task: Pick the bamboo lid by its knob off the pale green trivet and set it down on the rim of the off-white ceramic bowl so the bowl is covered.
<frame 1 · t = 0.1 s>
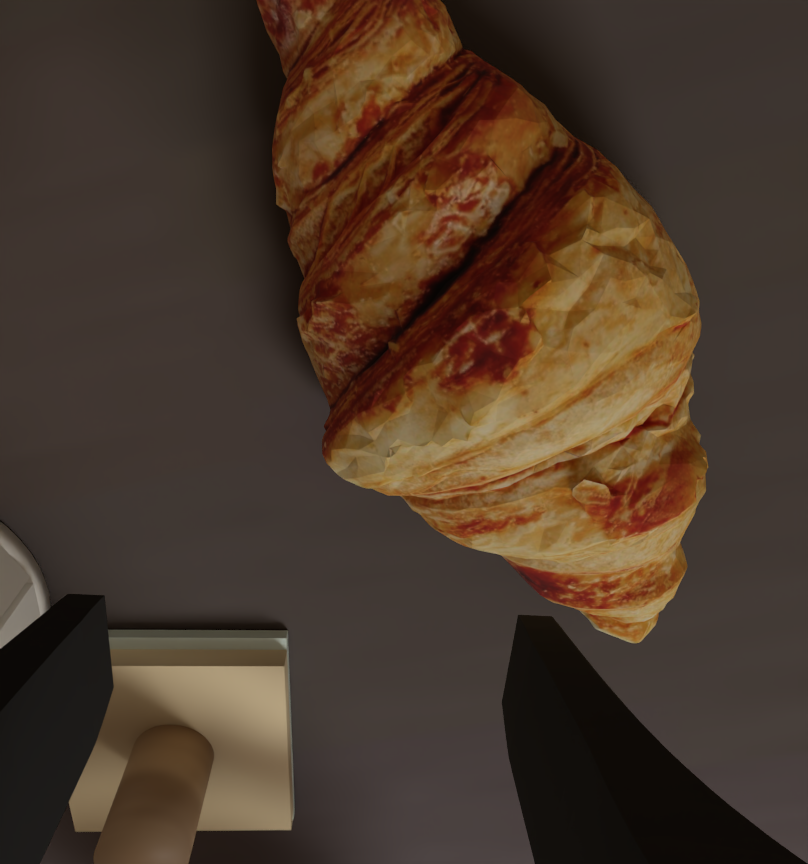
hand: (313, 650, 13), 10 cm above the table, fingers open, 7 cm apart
lid: (179, 735, 26), resting on trivet
croissant: (484, 337, 21), on the table
trivet: (182, 727, 27), on the table
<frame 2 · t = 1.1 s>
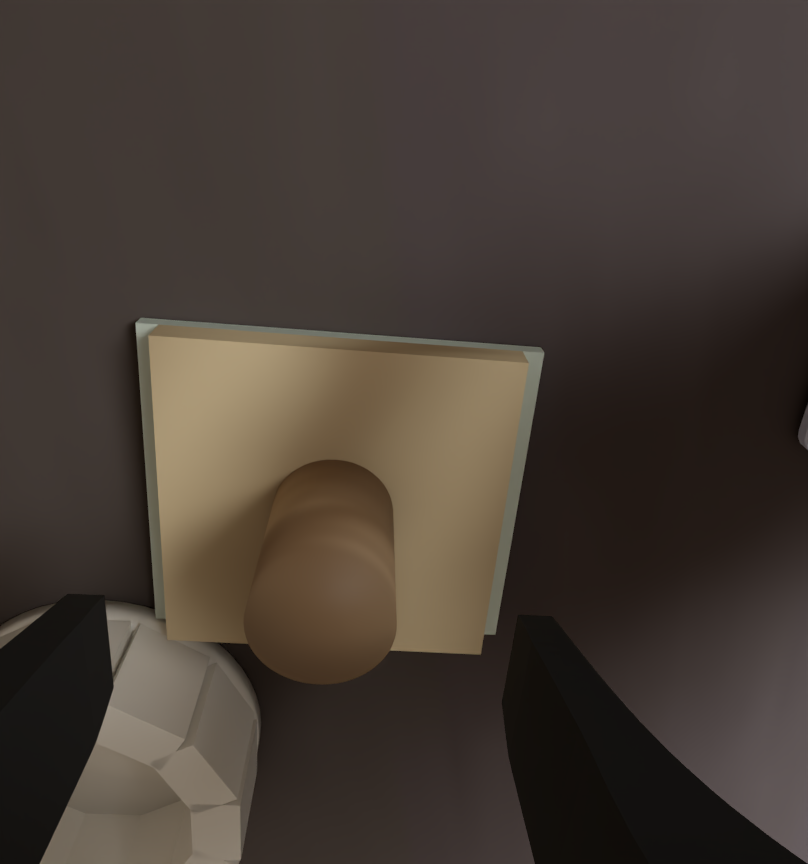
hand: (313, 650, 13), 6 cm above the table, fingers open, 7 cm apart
bowl: (114, 717, 21), on the table
lid: (335, 495, 18), resting on trivet
trivet: (335, 487, 18), on the table
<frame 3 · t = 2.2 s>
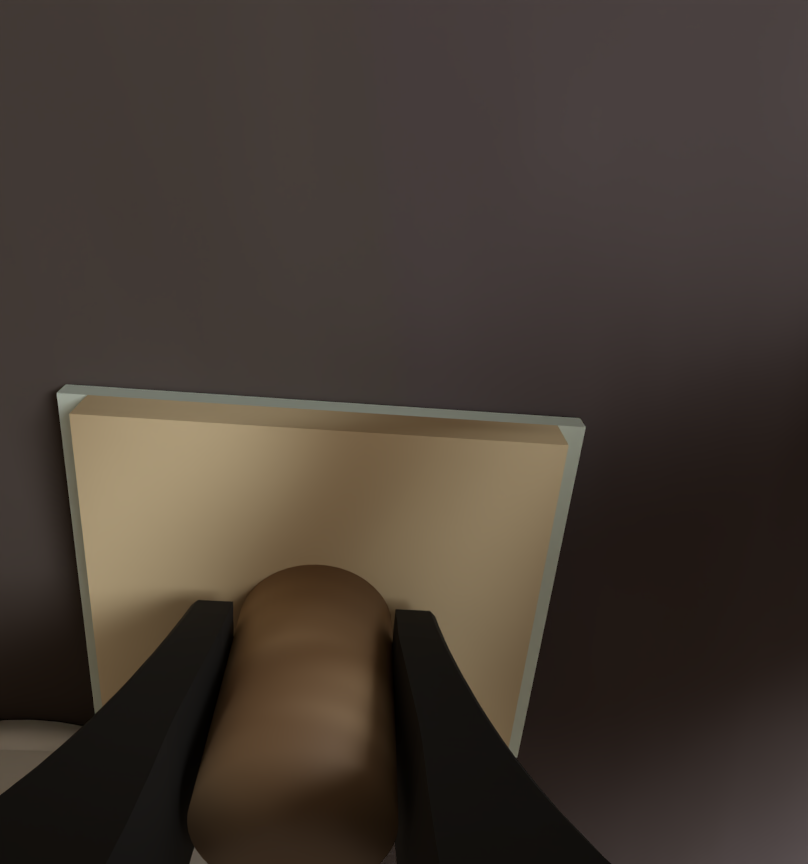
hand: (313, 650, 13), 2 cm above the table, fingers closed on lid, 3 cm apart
bowl: (54, 851, 17), on the table
lid: (318, 600, 14), resting on trivet, touching gripper
trivet: (320, 588, 14), on the table
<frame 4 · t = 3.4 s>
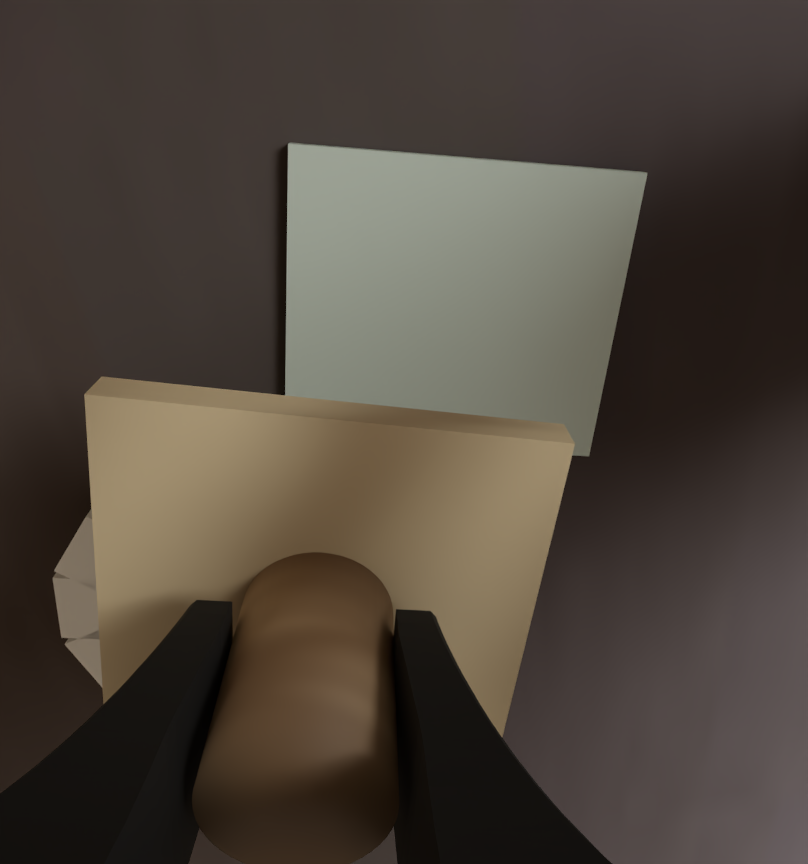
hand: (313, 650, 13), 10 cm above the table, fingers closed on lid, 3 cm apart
bowl: (237, 544, 23), on the table
lid: (320, 588, 14), point 8 cm above the table, touching gripper
trivet: (451, 311, 20), on the table
when the fingers open (6 cm above the table, at t = 4.6 s): lid stays where it is, resting on bowl.
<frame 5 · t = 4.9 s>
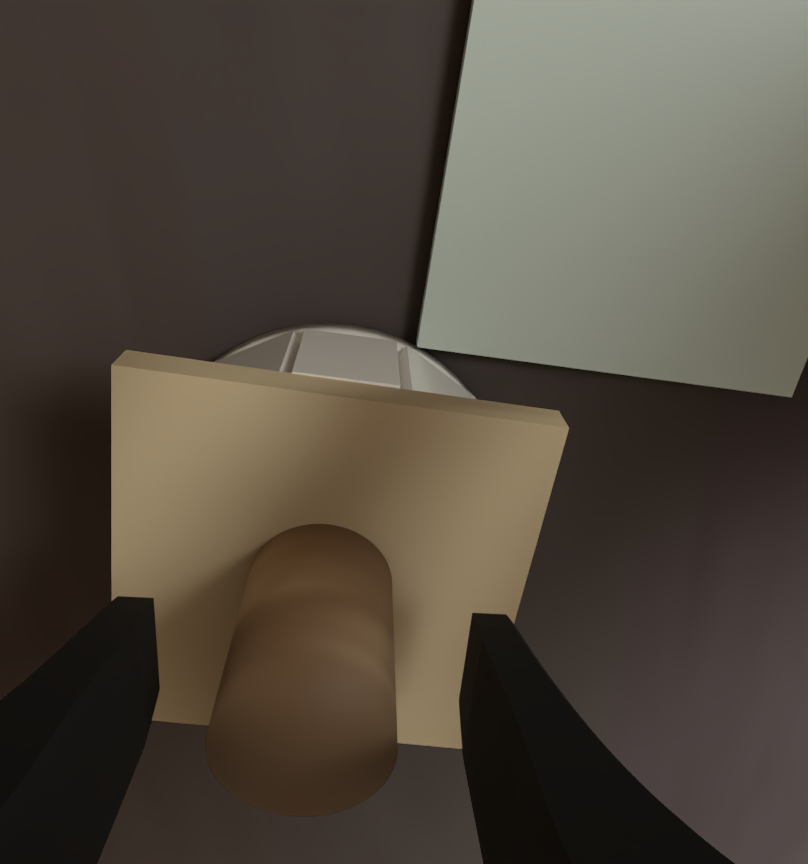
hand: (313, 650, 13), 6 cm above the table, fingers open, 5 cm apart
bowl: (331, 485, 18), on the table
lid: (323, 561, 15), point 3 cm above the table, touching bowl
trivet: (653, 191, 16), on the table
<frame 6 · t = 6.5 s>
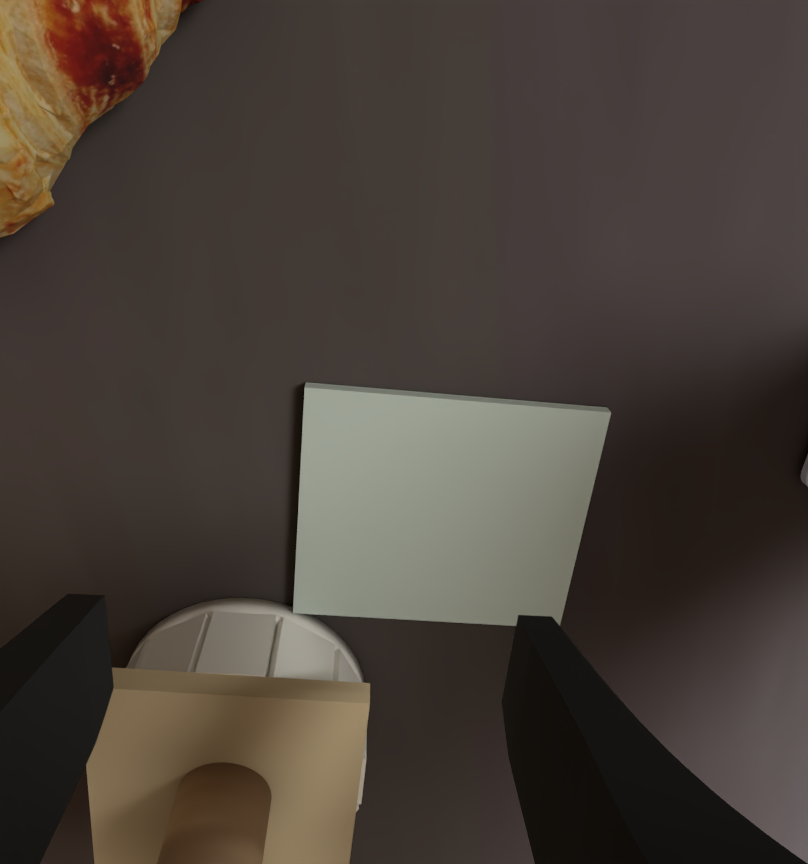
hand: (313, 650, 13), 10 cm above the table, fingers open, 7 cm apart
bowl: (246, 693, 26), on the table
lid: (229, 773, 23), point 3 cm above the table, touching bowl
trivet: (441, 511, 23), on the table
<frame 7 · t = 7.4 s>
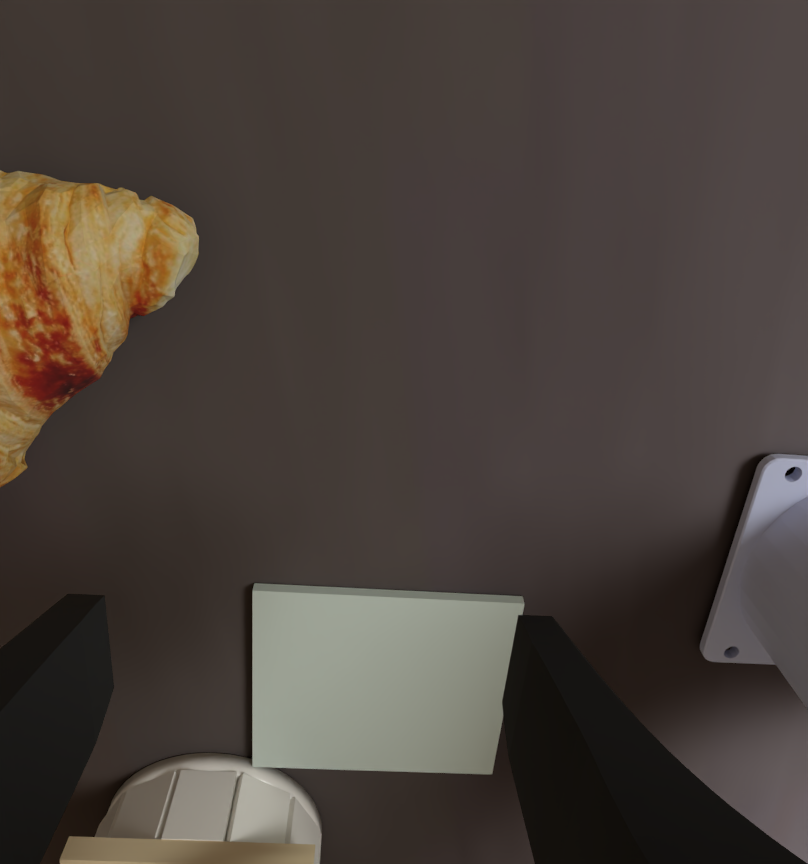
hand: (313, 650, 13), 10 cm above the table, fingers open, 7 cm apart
bowl: (215, 829, 29), on the table
trivet: (381, 681, 26), on the table
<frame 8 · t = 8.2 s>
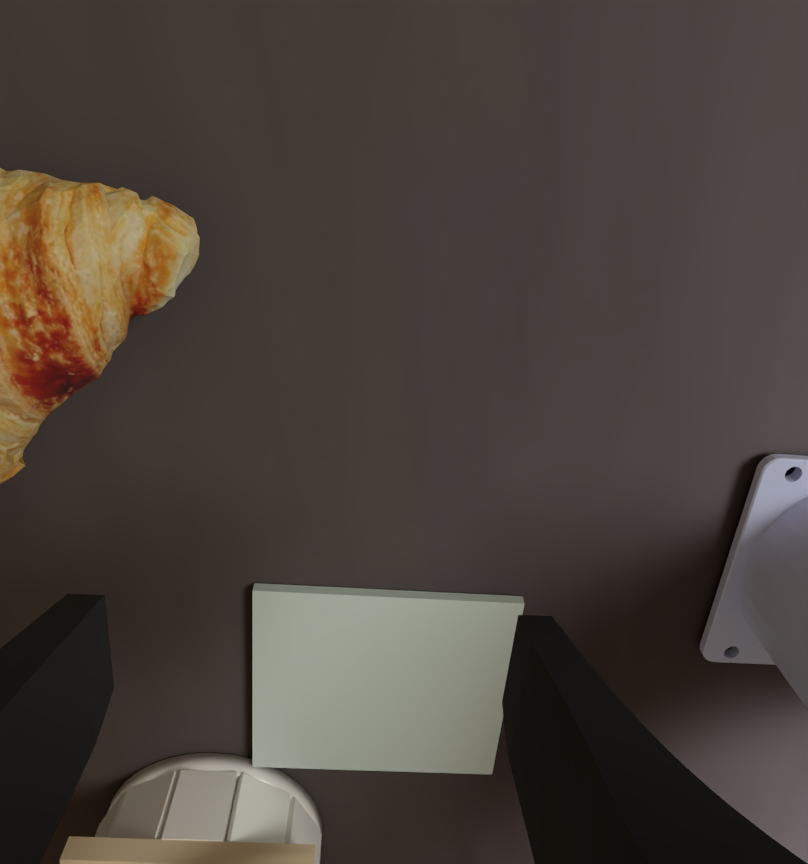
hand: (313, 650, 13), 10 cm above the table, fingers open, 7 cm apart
bowl: (215, 829, 29), on the table
trivet: (381, 681, 26), on the table
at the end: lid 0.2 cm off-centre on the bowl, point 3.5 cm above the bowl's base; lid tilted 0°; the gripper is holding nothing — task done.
